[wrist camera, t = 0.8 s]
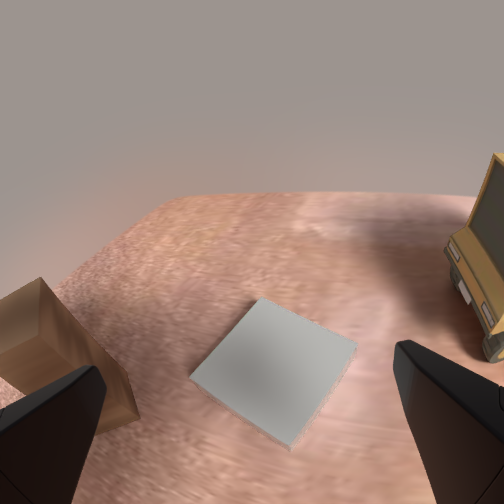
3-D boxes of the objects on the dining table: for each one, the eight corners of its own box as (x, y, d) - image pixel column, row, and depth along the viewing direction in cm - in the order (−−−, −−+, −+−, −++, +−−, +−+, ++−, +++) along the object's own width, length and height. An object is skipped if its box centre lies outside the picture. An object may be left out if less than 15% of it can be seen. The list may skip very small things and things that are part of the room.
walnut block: (140, 418, 22) (38, 334, 14) (93, 435, 21) (-17, 363, 12) (126, 371, 26) (40, 276, 17) (83, 389, 25) (-10, 305, 16)
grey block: (291, 452, 19) (288, 445, 17) (200, 391, 24) (189, 377, 22) (354, 361, 24) (358, 343, 22) (266, 316, 29) (261, 296, 27)
